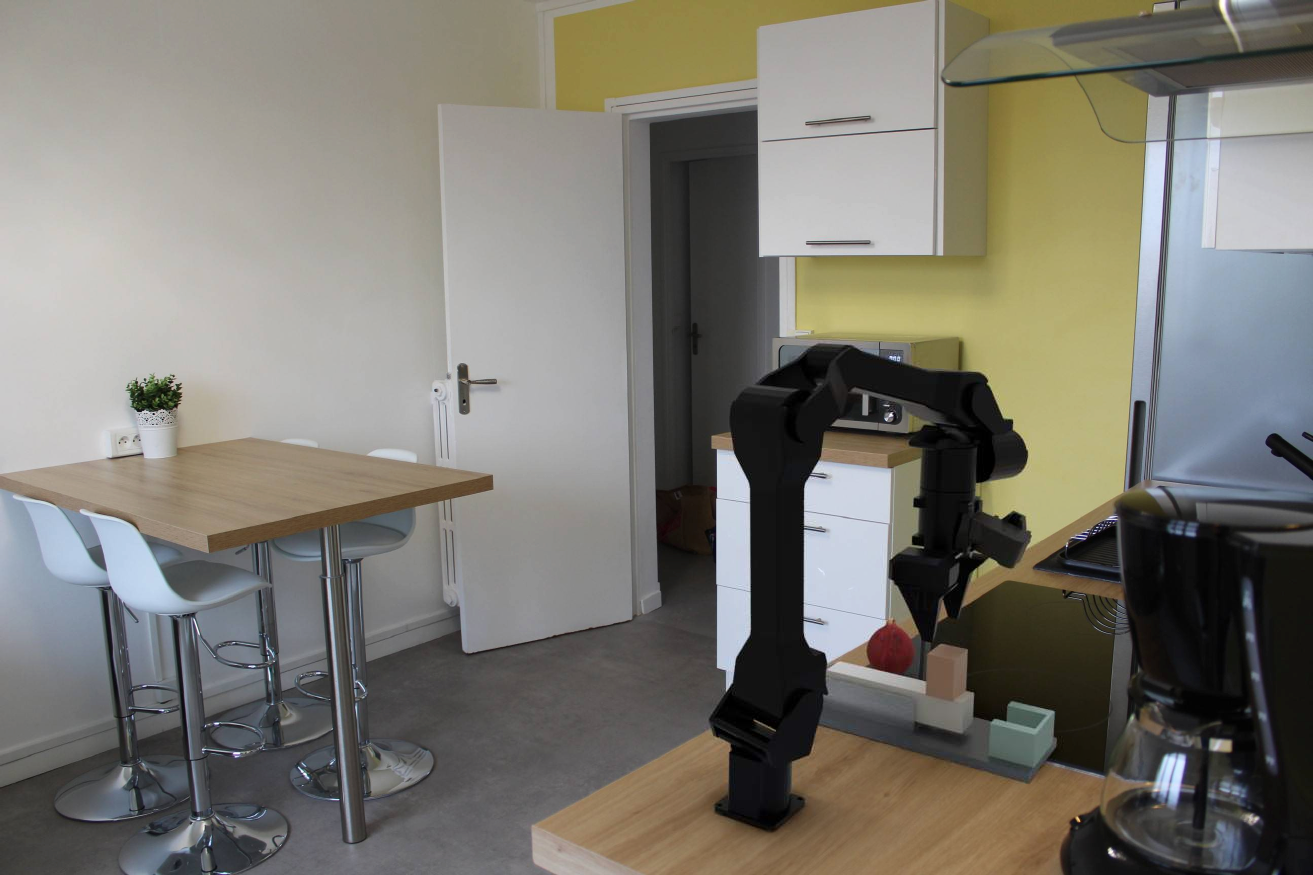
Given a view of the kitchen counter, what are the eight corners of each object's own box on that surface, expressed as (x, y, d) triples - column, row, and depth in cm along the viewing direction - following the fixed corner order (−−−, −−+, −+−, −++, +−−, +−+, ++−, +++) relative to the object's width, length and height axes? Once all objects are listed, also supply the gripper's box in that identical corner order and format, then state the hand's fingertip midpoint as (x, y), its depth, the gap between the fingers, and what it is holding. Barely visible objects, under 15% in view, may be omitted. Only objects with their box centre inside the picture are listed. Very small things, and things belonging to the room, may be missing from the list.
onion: (918, 689, 124) (920, 626, 122) (870, 689, 124) (872, 626, 123) (907, 671, 129) (909, 611, 128) (862, 671, 130) (864, 611, 128)
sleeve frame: (1028, 782, 100) (1030, 739, 99) (796, 717, 115) (796, 680, 115) (1056, 746, 108) (1058, 706, 107) (835, 690, 123) (836, 655, 123)
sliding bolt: (960, 734, 107) (964, 662, 106) (824, 698, 116) (825, 631, 115) (973, 721, 110) (976, 651, 109) (839, 687, 119) (841, 622, 118)
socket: (1033, 767, 101) (1035, 734, 101) (988, 755, 104) (990, 723, 103) (1052, 742, 107) (1054, 711, 106) (1009, 731, 109) (1011, 701, 109)
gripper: (1004, 512, 95) (995, 671, 97) (1045, 482, 111) (1037, 619, 113) (889, 499, 101) (883, 649, 103) (944, 472, 117) (938, 603, 119)
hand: (940, 629), depth 109 cm, fingers open, 9 cm apart
